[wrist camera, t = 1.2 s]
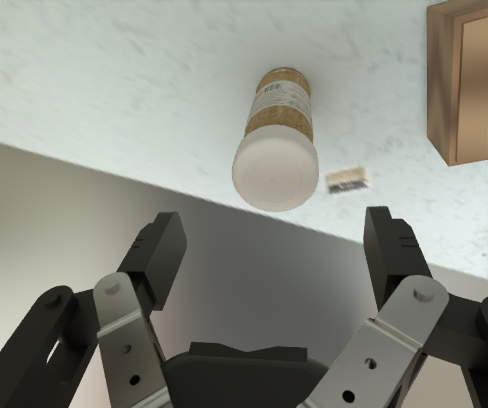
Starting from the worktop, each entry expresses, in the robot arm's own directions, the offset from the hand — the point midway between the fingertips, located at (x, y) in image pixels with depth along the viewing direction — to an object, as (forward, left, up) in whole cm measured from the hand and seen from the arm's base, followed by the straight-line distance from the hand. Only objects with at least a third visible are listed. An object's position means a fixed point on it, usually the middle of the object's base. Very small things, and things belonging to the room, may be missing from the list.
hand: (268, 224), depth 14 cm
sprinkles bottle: (0, 0, -17) cm, 17 cm away
